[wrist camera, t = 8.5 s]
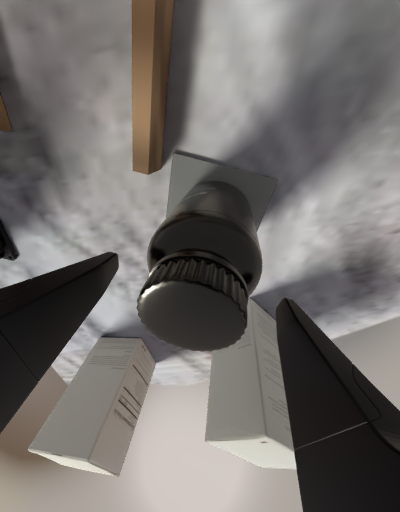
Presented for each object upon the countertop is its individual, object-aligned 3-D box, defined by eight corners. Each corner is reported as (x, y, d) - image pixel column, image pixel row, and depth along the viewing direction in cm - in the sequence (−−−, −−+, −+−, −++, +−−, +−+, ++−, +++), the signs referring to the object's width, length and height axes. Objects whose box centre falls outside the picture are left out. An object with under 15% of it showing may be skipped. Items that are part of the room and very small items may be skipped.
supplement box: (118, 361, 38) (65, 467, 26) (99, 336, 34) (22, 450, 21) (157, 363, 37) (119, 479, 24) (142, 337, 32) (86, 464, 19)
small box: (214, 315, 26) (201, 442, 15) (250, 296, 23) (268, 438, 12) (249, 343, 28) (260, 469, 17) (286, 329, 25) (327, 472, 14)
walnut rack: (161, 169, 16) (148, 174, 14) (-1, 127, 16) (-43, 125, 14) (186, -163, 8) (166, -295, 6) (-131, -241, 8) (-288, -405, 6)
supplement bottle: (195, 164, 15) (127, 215, 5) (265, 199, 16) (324, 303, 6) (171, 231, 19) (104, 333, 9) (228, 257, 20) (226, 378, 10)
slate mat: (241, 262, 20) (241, 264, 20) (164, 242, 20) (163, 243, 20) (277, 179, 15) (278, 180, 15) (174, 152, 15) (173, 153, 15)
